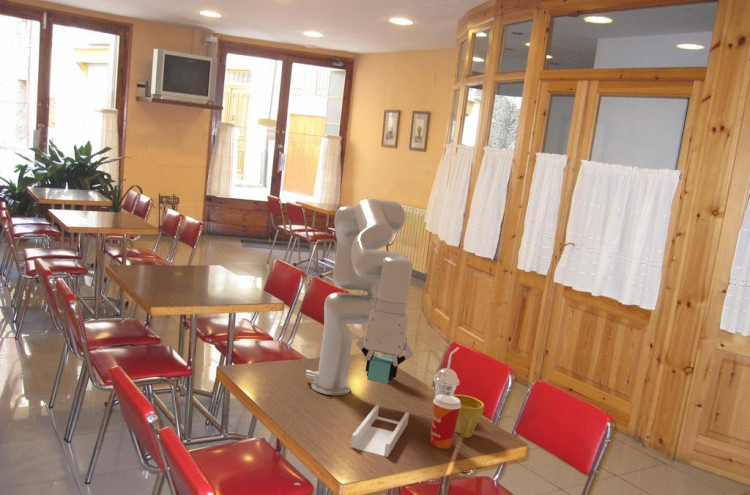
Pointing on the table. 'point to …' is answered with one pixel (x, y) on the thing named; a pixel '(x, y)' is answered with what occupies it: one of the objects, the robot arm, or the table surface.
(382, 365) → the teal block
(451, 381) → the cup with straw
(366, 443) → the trap channel
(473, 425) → the plant pot
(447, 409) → the paper cup
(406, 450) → the table surface
